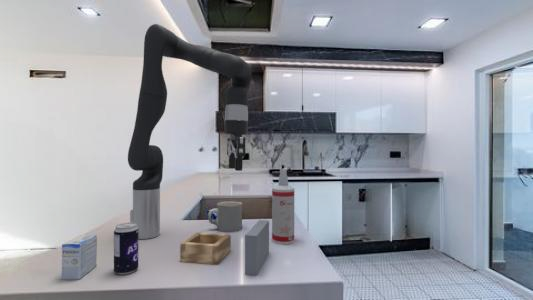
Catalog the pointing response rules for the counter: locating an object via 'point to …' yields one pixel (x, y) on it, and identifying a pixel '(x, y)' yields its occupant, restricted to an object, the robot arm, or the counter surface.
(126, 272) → the beverage can
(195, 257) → the wooden box
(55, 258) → the counter surface
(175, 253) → the counter surface
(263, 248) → the wall
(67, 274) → the medicine box
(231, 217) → the coffee mug
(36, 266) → the counter surface
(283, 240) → the spray bottle
